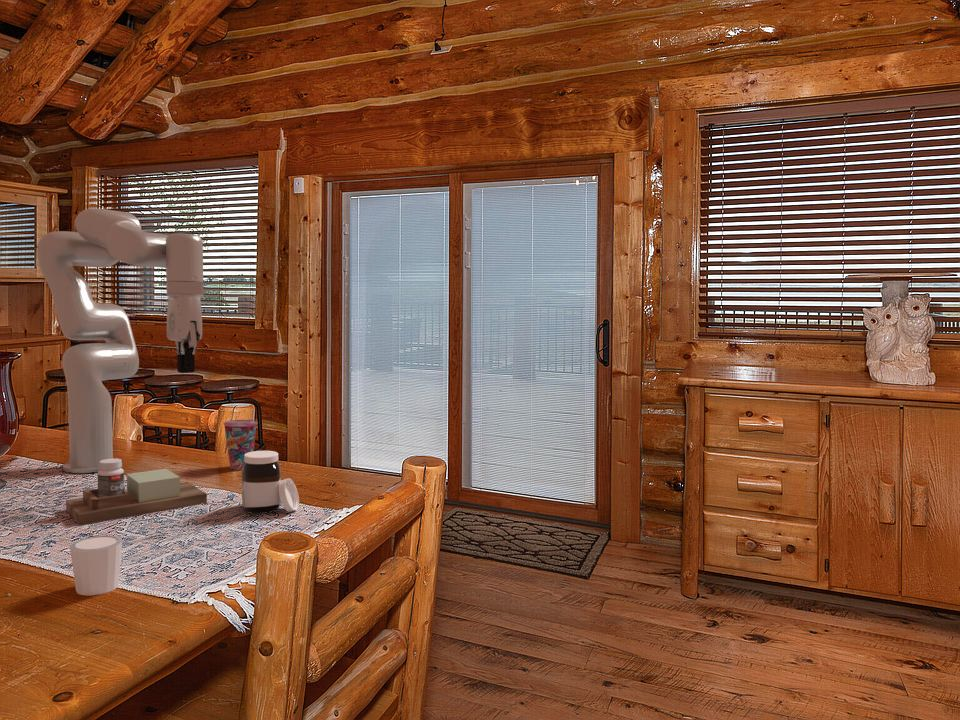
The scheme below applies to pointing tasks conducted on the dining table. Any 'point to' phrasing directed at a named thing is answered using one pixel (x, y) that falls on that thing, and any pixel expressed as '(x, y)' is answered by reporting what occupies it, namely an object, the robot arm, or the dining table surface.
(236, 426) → the cup
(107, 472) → the pill bottle
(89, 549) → the white tapered cylinder
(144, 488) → the pale green block
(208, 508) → the dining table surface
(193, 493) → the housing
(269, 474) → the spread jar
